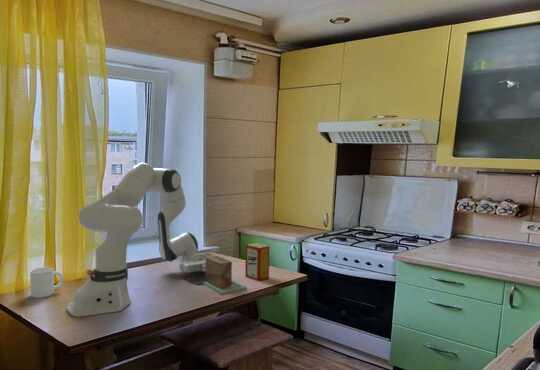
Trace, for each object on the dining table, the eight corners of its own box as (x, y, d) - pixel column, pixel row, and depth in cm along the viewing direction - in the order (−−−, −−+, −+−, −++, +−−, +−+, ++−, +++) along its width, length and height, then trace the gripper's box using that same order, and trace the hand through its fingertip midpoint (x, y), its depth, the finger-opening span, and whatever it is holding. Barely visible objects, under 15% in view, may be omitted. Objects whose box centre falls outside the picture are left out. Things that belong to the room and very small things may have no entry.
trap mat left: (197, 285, 186) (197, 284, 186) (187, 279, 194) (187, 278, 194) (207, 283, 189) (207, 282, 189) (197, 277, 197) (197, 277, 197)
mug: (61, 288, 178) (61, 265, 177) (65, 294, 172) (65, 269, 171) (29, 293, 171) (28, 269, 170) (32, 299, 164) (31, 274, 164)
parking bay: (220, 294, 175) (220, 292, 174) (203, 284, 187) (203, 282, 187) (246, 288, 182) (246, 286, 182) (228, 279, 195) (228, 277, 195)
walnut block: (219, 288, 182) (220, 263, 182) (205, 280, 193) (205, 257, 192) (231, 286, 186) (231, 261, 185) (216, 278, 196) (217, 255, 195)
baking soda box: (245, 276, 201) (245, 243, 199) (255, 274, 205) (255, 242, 204) (258, 281, 194) (259, 247, 193) (268, 278, 198) (269, 245, 197)
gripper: (177, 258, 198) (190, 265, 187) (215, 253, 211) (229, 258, 200) (177, 271, 199) (190, 278, 188) (214, 265, 211) (229, 271, 200)
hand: (211, 268), depth 194 cm, fingers closed, pressing on walnut block
